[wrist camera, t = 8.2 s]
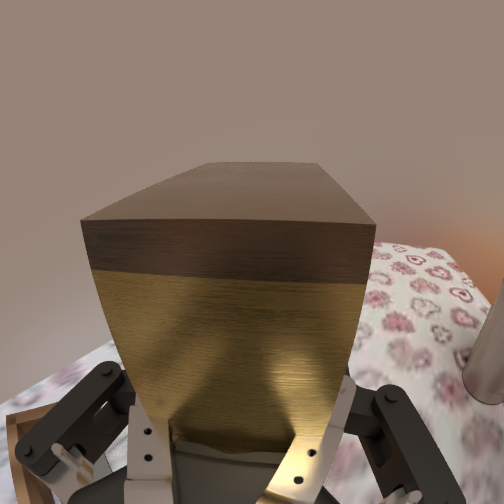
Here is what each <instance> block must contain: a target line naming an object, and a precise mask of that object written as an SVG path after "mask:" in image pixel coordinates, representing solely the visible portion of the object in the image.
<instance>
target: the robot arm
mask: <svg viewBox="0 0 504 504" xmlns="http://www.w3.org/2000/svg"><path fill="white" fill-rule="evenodd" d="M467 360H468V362H467V363H466V365H465V367H464V370H463V381H464V384H465V386H466V388H467V390H468V391H469V392H470V393H471V395H472V396H474V397H475V398H476V399H478V400H479V401H481V402H484V403H487V404H498V403H501V402H503V401H504V279H503V282H502V285H501V288H500V291H499V293H498V296H497V299H496V302H495V304H493V305H492V306H491V308H490V310H489V313H488V315H487V318H486V320H485V322H484V324H483V327H482V329H481V331H480V333H479V335H478V338H477V340H476V342H475V344H474V346H473V348H472V350H471V352H470V354H469V356H468V358H467ZM106 401H107V403H106V404H105V405H104V407H103V408H102V409H101V410H100V411H99V412H98V413H97V414H96V415H95V416H94V414H95V413H96V412H97V411H98V410H99V409H100V408H101V407H102V405H103V404H104V403H105V402H106ZM127 425H128V450H127V465H126V466H125V467H123V468H121V469H119V470H117V471H115V472H113V473H111V474H109V475H107V476H105V477H103V478H101V479H99V480H97V481H95V482H93V483H91V484H89V482H91V481H93V479H94V475H93V473H94V468H93V465H94V464H95V462H96V461H97V460H98V459H99V458H100V457H101V455H102V454H103V453H104V452H105V451H106V450H107V448H108V447H109V446H110V445H111V444H112V442H113V441H114V440H115V439H116V438H117V437H118V435H119V434H120V433H121V432H122V431H123V429H124V428H125V427H126V426H127ZM343 432H344V433H348V434H353V435H357V436H358V437H359V440H360V442H361V444H362V447H363V449H364V452H365V454H366V456H367V459H368V461H369V464H370V466H371V469H372V471H373V473H374V476H375V478H376V481H377V483H378V486H379V488H380V491H381V493H382V496H383V498H384V499H383V500H382V501H381V502H380V503H379V504H466V499H465V497H464V495H463V493H462V491H461V489H460V487H459V485H458V483H457V481H456V479H455V477H454V476H453V474H452V472H451V470H450V468H449V466H448V464H447V462H446V461H445V459H444V457H443V455H442V453H441V452H440V450H439V448H438V446H437V444H436V443H435V441H434V439H433V437H432V436H431V434H430V432H429V430H428V429H427V427H426V425H425V424H424V422H423V420H422V419H421V417H420V415H419V414H418V412H417V410H416V409H415V407H414V405H413V404H412V402H411V400H410V399H409V397H408V395H407V394H406V392H405V391H404V390H403V389H402V388H401V387H399V386H396V385H391V384H389V385H384V386H382V387H380V388H379V389H378V390H377V391H374V390H369V389H365V388H362V387H359V386H358V385H356V383H355V382H354V380H353V379H352V378H351V377H350V374H349V368H348V364H347V368H346V371H345V374H344V378H343V381H342V384H341V387H340V390H339V393H338V396H337V399H336V402H335V405H334V408H333V411H332V414H331V417H330V419H329V422H328V425H327V427H326V430H325V433H324V435H296V436H295V438H294V440H293V442H292V444H291V446H290V448H289V450H288V452H287V453H286V455H285V453H272V452H249V453H240V454H226V453H223V452H220V451H218V450H215V449H213V448H210V447H208V446H205V445H203V444H197V443H192V442H187V441H182V440H178V441H177V444H176V446H174V444H173V438H172V434H173V430H172V427H171V425H170V423H169V421H168V419H164V418H159V417H155V416H151V415H147V414H146V412H145V410H144V408H143V406H142V404H141V402H140V400H139V398H138V396H137V394H136V392H135V390H134V388H133V386H132V383H131V381H130V379H129V377H128V374H127V372H126V370H121V367H120V366H119V364H118V363H116V362H113V361H105V362H102V363H100V364H98V365H97V366H96V367H95V368H94V369H93V370H92V371H91V372H90V373H88V374H87V375H86V376H85V377H84V378H83V379H82V380H81V381H80V382H79V383H78V384H77V385H76V386H75V387H74V388H73V389H72V390H70V391H69V392H68V393H67V394H66V395H65V396H64V397H63V398H62V399H61V400H60V401H59V402H58V403H57V404H56V405H55V406H54V407H53V408H52V409H51V410H50V411H49V412H48V413H47V414H45V415H44V416H43V417H42V418H41V419H40V420H39V421H38V422H37V423H36V424H35V425H34V426H33V427H32V428H31V429H30V430H29V431H28V432H27V433H26V434H25V435H24V436H23V437H22V438H21V439H20V440H19V441H18V442H17V444H16V446H15V451H14V452H15V457H16V459H17V460H18V462H19V463H21V464H22V465H23V466H24V467H25V468H27V469H28V470H29V471H30V472H31V473H32V474H33V475H34V476H36V477H37V478H38V479H40V480H41V481H42V482H44V483H45V484H46V485H47V486H48V487H49V488H50V489H51V490H52V491H53V492H54V493H55V494H56V495H57V496H58V497H59V498H60V499H61V500H62V501H63V502H64V503H65V504H340V503H339V502H338V501H337V500H336V499H335V498H334V497H333V496H332V495H331V494H330V493H329V492H328V491H327V490H326V488H325V487H324V486H323V483H324V480H325V478H326V476H327V474H328V471H329V469H330V466H331V464H332V461H333V459H334V456H335V454H336V451H337V449H338V446H339V443H340V441H341V438H342V435H343Z"/></svg>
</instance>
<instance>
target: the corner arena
mask: <svg viewBox="0 0 504 504" xmlns="http://www.w3.org/2000/svg"><path fill="white" fill-rule="evenodd" d="M57 403H58V402H56V403H53V404H49V405H46V406H42V407H38V408H35V409H31V410H27V411H23V412H19V413H15V414H11V415H6V428H7V441H8V451H9V459H10V466H11V472H12V478H13V483H14V488H15V493H16V497H17V501H18V504H55V503H54V500H53V497H52V493H51V490H50V488H49V487H48V486H47V485H46V484H45V483H44V482H42V481H41V480H40V479H38V478H37V477H36V476H34V475H33V474H32V473H31V472H30V471H29V470H28V469H27V468H25V467H24V466H23V465H22V464H21V463H19V462H18V460H17V459H16V457H15V452H14V451H15V446H16V444H17V442H18V441H19V440H20V439H21V438H22V437H23V436H24V435H25V434H26V433H27V432H28V431H29V430H30V429H31V428H32V427H33V426H34V425H35V424H36V423H37V422H38V421H39V420H40V419H41V418H42V417H43V416H44V415H45V414H47V413H48V412H49V411H50V410H51V409H52V408H53V407H54V406H55V405H56V404H57ZM100 410H101V408H100V409H99V410H98V411H97V412H96V413H95V414H94V416H95V415H96V414H97V413H98V412H99V411H100Z"/></svg>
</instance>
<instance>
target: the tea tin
mask: <svg viewBox="0 0 504 504" xmlns="http://www.w3.org/2000/svg"><path fill="white" fill-rule="evenodd" d="M80 222H81V227H82V232H83V237H84V242H85V246H86V251H87V255H88V259H89V263H90V267H91V271H92V275H93V278H94V282H95V285H96V289H97V292H98V296H99V299H100V302H101V305H102V308H103V312H104V315H105V318H106V320H107V323H108V326H109V329H110V332H111V335H112V337H113V340H114V343H115V345H116V348H117V350H118V353H119V355H120V358H121V360H122V363H123V365H124V367H125V370H126V372H127V374H128V377H129V379H130V381H131V383H132V386H133V388H134V390H135V392H136V394H137V396H138V398H139V400H140V402H141V404H142V406H143V408H144V410H145V412H146V414H147V415H151V416H155V417H159V418H164V419H168V421H169V423H170V425H171V427H172V430H173V434H172V438H173V444H174V446H176V444H177V441H178V440H182V441H187V442H192V443H197V444H203V445H205V446H208V447H210V448H213V449H215V450H218V451H220V452H223V453H226V454H240V453H249V452H272V453H285V455H286V453H287V452H288V450H289V448H290V446H291V444H292V442H293V440H294V438H295V436H296V435H324V433H325V430H326V427H327V425H328V422H329V419H330V417H331V414H332V411H333V408H334V405H335V402H336V399H337V396H338V393H339V390H340V387H341V384H342V381H343V378H344V374H345V371H346V368H347V364H348V361H349V357H350V354H351V350H352V346H353V343H354V339H355V335H356V331H357V327H358V323H359V318H360V314H361V310H362V305H363V300H364V296H365V291H366V286H367V281H368V275H369V270H370V264H371V258H372V252H373V245H374V239H375V231H376V224H375V223H374V221H373V220H372V219H371V218H370V217H369V216H368V215H367V214H366V213H365V212H364V211H363V209H361V207H360V206H359V205H358V204H357V203H356V202H355V201H354V200H353V199H352V198H351V197H350V196H349V195H348V194H347V193H346V192H345V190H344V189H342V187H341V186H340V185H339V184H338V183H336V181H335V180H334V179H333V178H332V177H331V176H330V175H329V174H327V173H326V172H325V171H324V170H323V169H322V168H321V167H320V166H319V165H318V164H317V163H290V162H221V163H207V164H204V165H201V166H199V167H196V168H194V169H191V170H189V171H186V172H184V173H181V174H179V175H176V176H174V177H171V178H169V179H166V180H164V181H162V182H160V183H157V184H155V185H153V186H150V187H148V188H146V189H143V190H141V191H139V192H137V193H135V194H132V195H130V196H128V197H126V198H124V199H122V200H120V201H118V202H116V203H113V204H111V205H109V206H107V207H105V208H103V209H101V210H100V211H97V212H95V213H93V214H91V215H90V216H88V217H86V218H84V219H82V220H80Z"/></svg>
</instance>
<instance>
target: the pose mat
mask: <svg viewBox="0 0 504 504" xmlns="http://www.w3.org/2000/svg"><path fill="white" fill-rule="evenodd" d="M93 468H94V473H93V475H94V479H93V481H91V482H89V484H91V483H93V482H95V481H97V480H99V479H101V478H103V477H105V476H107V475H109V474H111V473H112V471H111V468H110V466H109V464H108V461H107V459H106V457H105V454H104V453H103V454H102V455H101V457H100V458H99V459H98V460H97V461H96V462H95V464H94V465H93ZM60 501H61V503H62V504H65V503H64V502H63V501H62V500H61V499H60Z"/></svg>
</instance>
